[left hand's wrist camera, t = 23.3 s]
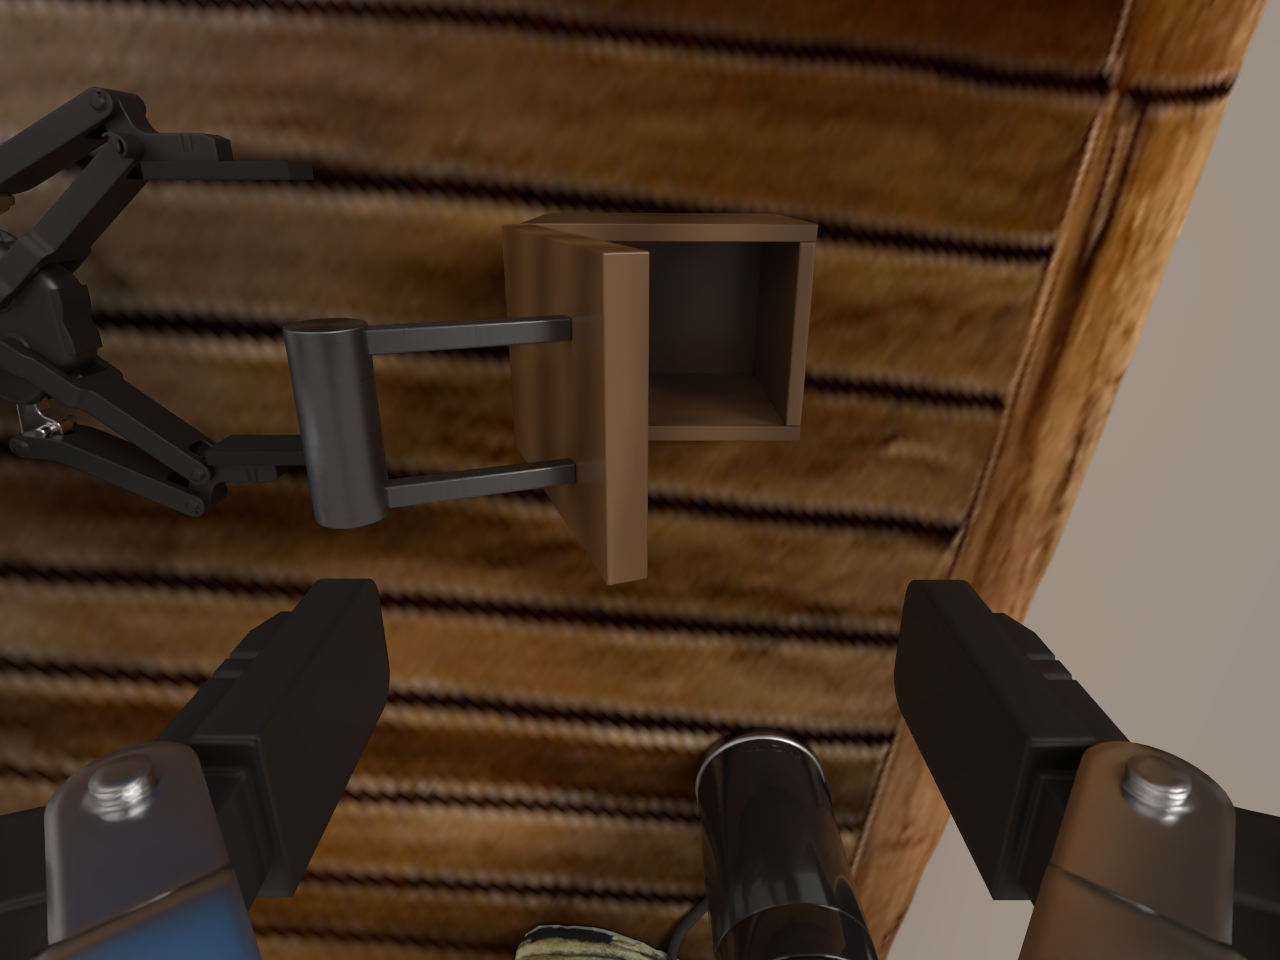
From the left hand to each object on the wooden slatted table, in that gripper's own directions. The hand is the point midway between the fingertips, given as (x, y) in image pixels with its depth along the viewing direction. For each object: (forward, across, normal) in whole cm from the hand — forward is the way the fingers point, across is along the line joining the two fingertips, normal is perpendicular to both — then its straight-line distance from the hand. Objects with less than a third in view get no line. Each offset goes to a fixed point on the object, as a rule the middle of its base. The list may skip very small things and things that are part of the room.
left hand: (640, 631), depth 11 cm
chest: (+34, -1, 0) cm, 34 cm away
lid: (+16, +2, 0) cm, 17 cm away
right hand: (+28, +16, 0) cm, 32 cm away
